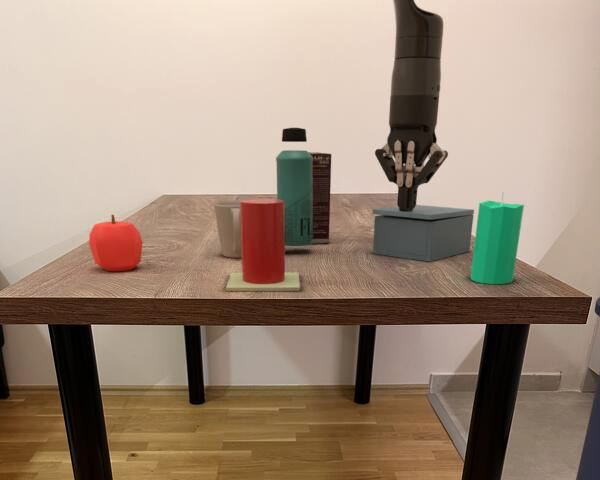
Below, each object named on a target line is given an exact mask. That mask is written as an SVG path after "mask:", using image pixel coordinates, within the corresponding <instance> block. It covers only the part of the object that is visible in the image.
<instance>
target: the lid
mask: <svg viewBox="0 0 600 480" xmlns="http://www.w3.org/2000/svg"><path fill="white" fill-rule="evenodd" d="M371 214H372V215H377V216H379V215H388V216H398V217H408V218H418V219H428V220H433V219H441V218H449V217H457V216H465V215H473V216H474V214H475V209H470V208H459V207H457V208H456V207H448V206H447V207H446V206H434V205H426V204H425V205H424V204H416V206H415V208H413V211H409V212H405V211H400V210H399V207H398V206H391V207H390V206H389V207H381V208H373V209H372V213H371Z"/></svg>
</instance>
